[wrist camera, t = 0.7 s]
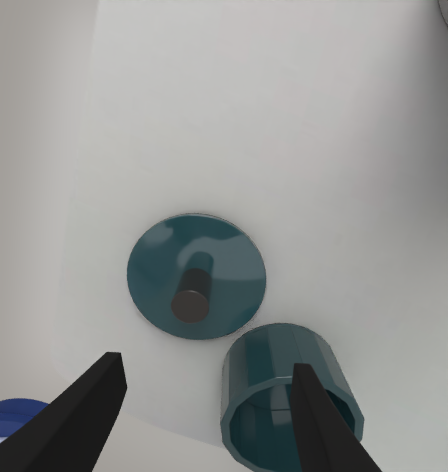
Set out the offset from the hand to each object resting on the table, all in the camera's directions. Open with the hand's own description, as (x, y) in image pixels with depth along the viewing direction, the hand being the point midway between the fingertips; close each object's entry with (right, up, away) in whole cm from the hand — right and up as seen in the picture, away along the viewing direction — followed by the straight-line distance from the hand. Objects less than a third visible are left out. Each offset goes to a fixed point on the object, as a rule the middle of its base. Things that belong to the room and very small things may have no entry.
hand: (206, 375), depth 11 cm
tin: (+5, -6, +12) cm, 15 cm away
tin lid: (-1, +3, +9) cm, 10 cm away
